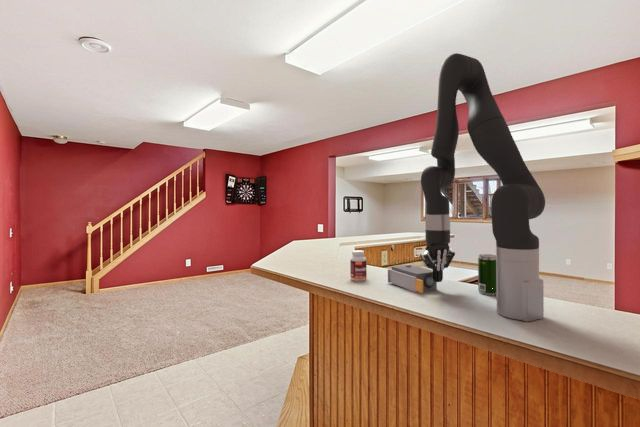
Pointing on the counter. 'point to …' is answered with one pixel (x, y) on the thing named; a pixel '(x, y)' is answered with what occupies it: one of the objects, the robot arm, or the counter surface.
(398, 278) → the grey orange flat panel
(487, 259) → the beer can
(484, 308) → the counter surface
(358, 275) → the pill bottle
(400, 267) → the camera body
